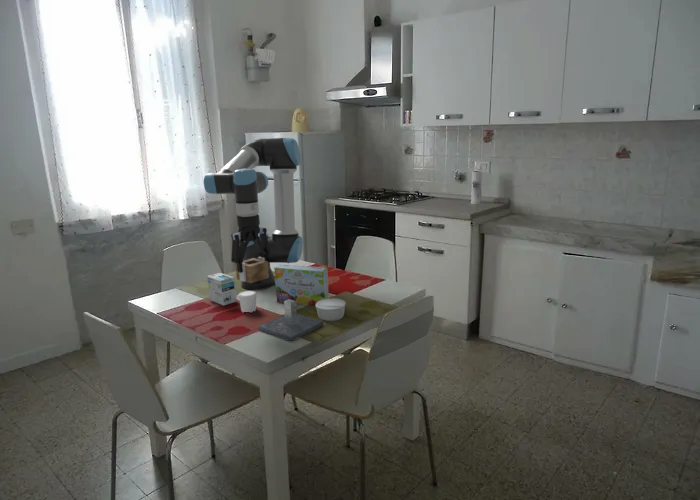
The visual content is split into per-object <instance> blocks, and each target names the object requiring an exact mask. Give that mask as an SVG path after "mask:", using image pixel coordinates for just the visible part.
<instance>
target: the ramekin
mask: <svg viewBox="0 0 700 500" xmlns="http://www.w3.org/2000/svg"><path fill="white" fill-rule="evenodd" d="M314 307H315V309H316V313H317V316H318V318H319V319H320V320H321V321H324V322H335V321H338V320H340V319H342V318H344V315H345V307H346V301H345V300H343V299H340V298H336V297H335V298H330V297H329V299H323V300H320V301H318V302H317V303H316V305H315V306H314Z"/></svg>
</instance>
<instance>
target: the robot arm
mask: <svg viewBox="0 0 700 500" xmlns="http://www.w3.org/2000/svg"><path fill="white" fill-rule="evenodd" d="M301 156H302V155H301V150H300V147H299V144H298V141H297V140H296V139H294V138H292V137H291V138H290V137H275V138H273V137H272V138H258V139H255V140H252V141H250V142H248V143H246V144H244V145H243V146H242V147H241V148H239V149H238V151H237V153H236V155H235V156H234V157H233V158H232V159H231V160H229V162H227V163H226V164H225V165H224V166H223V167H222V168H221V169H220V170H219V171H217V172H209V173H206V174H205V175H204V178H203V187H204V190H205V192H206V193H207V194H209V195H210V194H213V195H233V194H234V195H235V196H234V197H235V208H236V209H235V210H236V211H235V212H236V215H237V216H236V220H237V221H236V222H237V227H238V231H237V232H236V233H231V235H230V236H231V242H232V243H231V261H230V262H231V263H234V264H236V263H237V271H238V272H239V276H240V280H239V281H240V284H241V287H242V288H243V289H247V290H265V289H267V288H271V287H273V286H274V285H276V283H275V274H273V271H272V268H271V264H272V263H273V264H275V263H277V264H293V263H297V262H299V261H300V259H301V257H302V253H303V249H304V248H303V247H304V240H303V236H300V235H299V231H298V230H297V229H296V225H295V222H296V220H295V190H294V189H295V187H294V186H295V185H294V181H295V180H294V173H296V172H297V167H299V166H300V165H301V163H302V162H301V160H302V158H301ZM256 167H269V171H270V172H271V173H272V175H273V196H274V199H273V202H274V226H275V229H274V230H273V231H272V232H271V236H269V233H268V232H267V231H268V229H267V228H266V227H260V224H261V223H260V222H261V221H260V215H259V210H260V209H259V207H260V206H259V196H258V194H260V193H263V192H264V191H265V190H266V189H267V188H268V186H269V178H268V176H267V175H266V174H265V173H264V172H261V171H258V170H257V171H256V170H255V169H254V168H256ZM252 258H255V259H260V260H264V261H268V269H269V278H266V279H263V280H260V281H257V282H254V283H248V282H246V270H245V263H243V261H245V260H248V259H252Z"/></svg>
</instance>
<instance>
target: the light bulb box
mask: <svg viewBox="0 0 700 500" xmlns="http://www.w3.org/2000/svg"><path fill="white" fill-rule="evenodd" d="M206 278H207V285H208V295H209V301H211V302H214V303H216V304H219V305H221V306H222V307H224V306H226V305H231V304H233V303H237V290H236V279H235V276H231V275H229V274H225V273H222V272H217V273H214V274H210V275H209V274H208V275H207V277H206Z"/></svg>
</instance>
